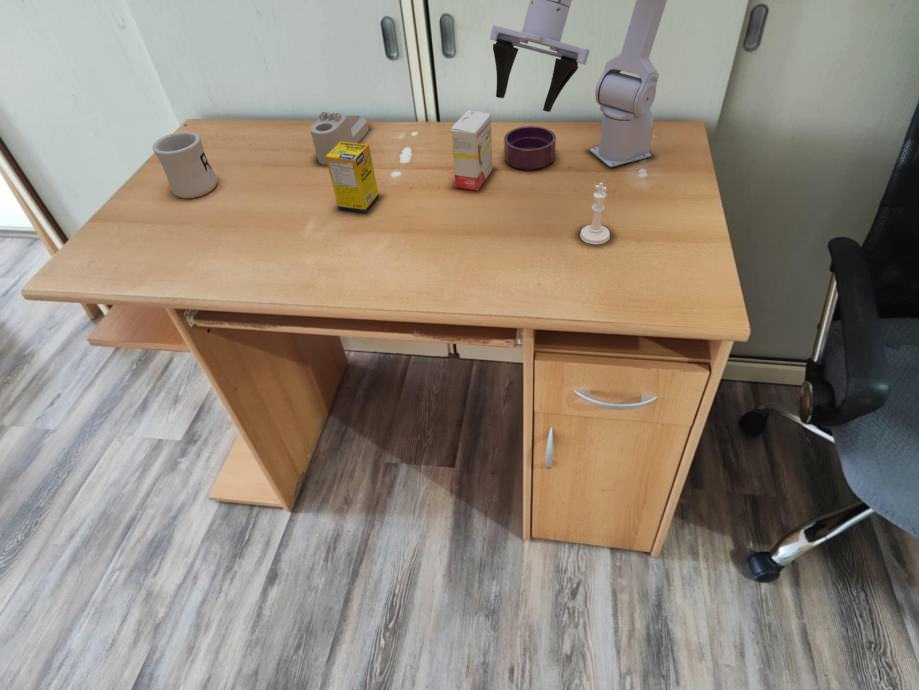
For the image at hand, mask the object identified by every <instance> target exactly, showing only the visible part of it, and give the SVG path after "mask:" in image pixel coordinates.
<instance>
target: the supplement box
mask: <svg viewBox="0 0 919 690" xmlns="http://www.w3.org/2000/svg"><path fill="white" fill-rule="evenodd" d="M326 161H327V165H326V166H327V168H328V173H329V176H330V181H331V184H332V189H333V193H334V196H335V201H336V204H337V208H338V210H343V211H349V212H356V213H357V212H358V213H363V214H367V212H368V211H369V210H370V209H371V207H372V206H373V204H374V203H375V202H376V201H377V200H378V199H379V197H380V195H379V191H378V185H377V179H376V174H375V169H374V168H375V167H374V163H373V158H372V154H371V148H370V144H369V143H360V142H358V143H351V142H343V141H341V142H339V143H338V144H337V145H336V146H335V147H334V148H333V149H332V150H331V151H330V152H329V153H328V154H327V155H326Z"/></svg>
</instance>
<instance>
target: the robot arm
mask: <svg viewBox="0 0 919 690" xmlns="http://www.w3.org/2000/svg"><path fill="white" fill-rule="evenodd" d="M667 1H668V0H635V2H634V3H635V4H634V6H633V10H632V14H631V18H630V21H629V24H628V28H627V31H626V34H625V37H624V41H623V45H622V49H621V52H620V54H618V55H616V56H615V57H613V58H611V59H610V60H608V61H606V62H605V65H604V68H603V71H602V73H601V75H600V77H599V78H598V81H597V83H596V86H595V90H594V97H595V102H596V103H597V104H598V105H599V106H600V107H599V111H600V112H602V119H601V127H600V137H599V145H598V146H594V147H590V148H589V152H590V153H591V154H593V155H594V156H595V157H596V158H597V159H599V160H600V162H603V164H604V165H606V166H607V167H609V168H614V167H618V166H622V165H626V164H629V163H633V162H636V161H640V160H643V159H647V158H651V156H652V153H651V152H650V147H651V143H652V137H653V132H654V131H653V130H654V126H655V125H654V124H655V123H654V122H655V121H654V115H653V112H652V110H651V108H652V106H653V105H654V101H655V99H656V95H657V86H658V85H657V83H658V80H659V76H660V75H659V72H658V70H657V68H656V67H655V66H654V64H653V62H652V61H651V59H650V57H651V53H652V50H653V47H654V44H655V40H656V37H657V34H658V30H659V28H660V27H659V26H660V24H661V22H662V17H663V15H664V13H665V8H666V5H667V3H668V2H667ZM572 2H573V0H529V2H528V7H527V10H526V14H525V19H524V22H523V26H522V30H521V31H519V30H515V29H511V28H507V27H503V26H499V25H495V24H493V25H492V26H491V27H492V28H491V31H490V37H489V40H490V41H494V42H495V43H493V44H492V51H493V55H494V62H495V71H496V91H495V97H496V98H498V99H505V97H506V96H505V95H506V93H507V89H508V84H509V81H510V75H511V72H512V70H513V66H514V63H515V61H516V57H517V55H518V52H519V48H521V49H525V50H529V51H532V52H536V53H540V54H545V55H547V56H552V57H555V60H554V66H553V71H552V76H551V81H550V85H549V89H548V92H547V95H546V97H545V100H544V104H543V108H542V111H544V112H549V113H551V111H552V109H553V106H554V105H555V102H556V100H557V99H558V97H559V95H560V93H561V92H562V90H563V89H564V88H565V86H566V84H567V83H568V82H569V81H570V79H571V78H572V77H573V76H574V74H576V72H577V71H578V69H579V66H578V65H579V64H582V65H586V64H587V61H588V57H589V54H590V49H588V48H584V47H580V46H576V45H573V44H569V43H566V42H562V41H561V40H562V38H563V34H564V30H565V26H566V24H567V23H566V22H567V19H568V15H569V12H570V8H571V5H572ZM529 42H530V43H533V44H537V45H541V46H544V47H548V48H549V50H547V49H544V48H540V47H536V46H531V45H528V44H529ZM622 72H624V73H622ZM627 73H628V74H627ZM629 74H632V75H629ZM634 75H637V76H634Z"/></svg>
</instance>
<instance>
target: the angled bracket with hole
mask: <svg viewBox="0 0 919 690" xmlns="http://www.w3.org/2000/svg"><path fill="white" fill-rule="evenodd" d="M309 130H310V134H311V138H312V141H313V147H314V150H315V153H316V154H315V155H316V158H317V161H318V163H319V164H321V165H325V166H328V165H327V161H326V155H327V154H328V153H329V152H330V151H331V150H332V149H333V148H334V147H335V146H336V145H337V144H338V143H339V142H341V141H343V142H351V143H360V141H361V139H363V137H364V136H365V135H366V134H367V133H368V131H370V129H369V123H368V120H367V119H366V118H365V117H361V116H360V114H359V115H357V114H348V115H342V114H341V112H332V113H330V112H329V111H321V113H320V114H318V119H317V120H316V121H315V122H314V123H313V124H312V125H311V126H310V129H309Z"/></svg>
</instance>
